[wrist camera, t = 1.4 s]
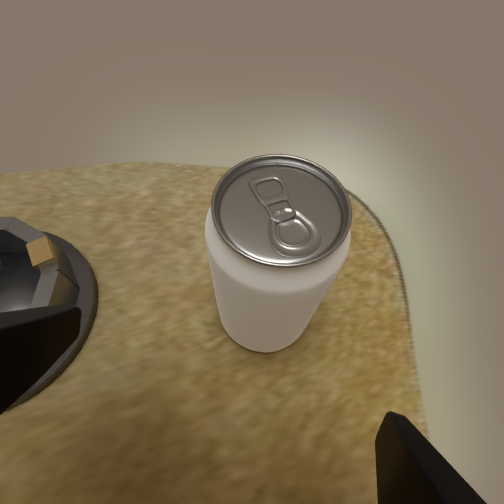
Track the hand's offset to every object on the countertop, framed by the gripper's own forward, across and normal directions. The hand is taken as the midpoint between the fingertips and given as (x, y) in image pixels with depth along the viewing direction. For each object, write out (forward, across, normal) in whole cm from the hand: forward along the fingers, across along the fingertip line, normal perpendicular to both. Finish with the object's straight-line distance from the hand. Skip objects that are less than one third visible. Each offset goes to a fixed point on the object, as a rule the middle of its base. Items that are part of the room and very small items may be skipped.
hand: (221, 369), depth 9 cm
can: (+14, 0, +4) cm, 14 cm away
